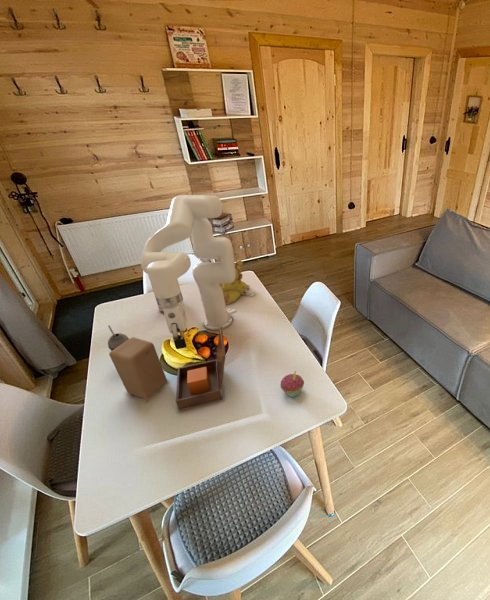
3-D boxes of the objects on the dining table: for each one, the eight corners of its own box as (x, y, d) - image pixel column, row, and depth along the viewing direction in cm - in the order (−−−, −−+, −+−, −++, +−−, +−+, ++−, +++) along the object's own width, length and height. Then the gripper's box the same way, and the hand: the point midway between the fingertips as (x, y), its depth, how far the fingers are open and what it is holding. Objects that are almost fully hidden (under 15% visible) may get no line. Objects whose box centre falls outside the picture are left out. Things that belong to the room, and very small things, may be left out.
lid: (223, 356, 112) (225, 356, 113) (219, 326, 126) (222, 326, 126) (218, 389, 119) (221, 389, 119) (216, 358, 132) (218, 358, 133)
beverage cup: (130, 373, 132) (112, 333, 121) (114, 370, 133) (94, 330, 123) (143, 360, 138) (127, 321, 127) (128, 357, 139) (110, 319, 129)
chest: (179, 411, 117) (175, 401, 115) (181, 377, 131) (177, 367, 128) (222, 400, 122) (220, 390, 119) (219, 368, 136) (217, 359, 133)
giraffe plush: (212, 286, 190) (205, 256, 179) (255, 284, 193) (251, 254, 183) (206, 306, 173) (197, 273, 162) (253, 303, 177) (248, 271, 166)
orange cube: (209, 378, 130) (206, 366, 126) (210, 391, 125) (206, 378, 121) (191, 383, 128) (187, 370, 124) (191, 395, 123) (187, 383, 119)
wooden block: (168, 382, 129) (153, 341, 118) (147, 401, 121) (129, 360, 110) (148, 375, 131) (132, 335, 121) (126, 393, 123) (106, 352, 113)
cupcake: (308, 388, 128) (307, 365, 122) (296, 404, 122) (294, 380, 115) (289, 380, 131) (287, 357, 125) (276, 395, 125) (273, 372, 118)
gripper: (181, 309, 103) (193, 352, 112) (183, 284, 117) (193, 323, 126) (153, 314, 101) (168, 357, 110) (159, 287, 114) (171, 327, 123)
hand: (182, 339), depth 118 cm, fingers open, 9 cm apart
